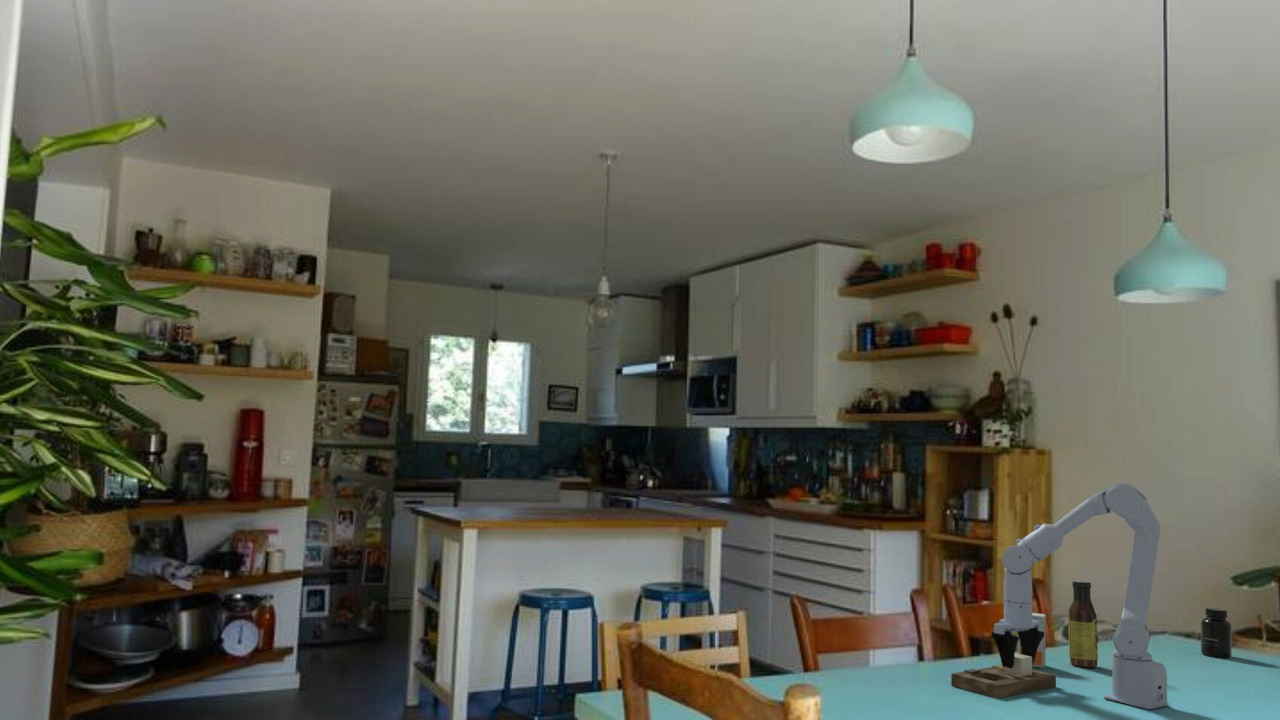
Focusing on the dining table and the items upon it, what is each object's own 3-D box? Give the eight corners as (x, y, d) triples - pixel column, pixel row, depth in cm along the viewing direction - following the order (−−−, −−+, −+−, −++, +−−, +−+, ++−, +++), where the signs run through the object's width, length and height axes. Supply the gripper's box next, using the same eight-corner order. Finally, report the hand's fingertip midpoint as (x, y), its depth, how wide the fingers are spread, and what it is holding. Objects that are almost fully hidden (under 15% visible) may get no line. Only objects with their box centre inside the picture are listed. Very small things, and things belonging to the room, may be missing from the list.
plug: (1032, 685, 200) (1032, 656, 201) (1021, 687, 198) (1021, 658, 199) (1015, 681, 204) (1015, 653, 204) (1004, 683, 201) (1004, 654, 202)
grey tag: (980, 672, 199) (980, 670, 199) (971, 673, 197) (971, 671, 197) (973, 670, 201) (973, 668, 201) (964, 672, 199) (964, 670, 199)
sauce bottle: (1102, 669, 220) (1102, 583, 222) (1076, 668, 220) (1075, 582, 222) (1090, 663, 226) (1089, 580, 228) (1064, 662, 226) (1063, 579, 228)
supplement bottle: (1205, 657, 241) (1204, 609, 242) (1198, 652, 247) (1197, 606, 248) (1235, 659, 239) (1234, 612, 240) (1227, 654, 245) (1226, 608, 246)
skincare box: (1016, 664, 221) (1016, 613, 222) (1018, 661, 224) (1018, 611, 226) (1044, 668, 218) (1044, 616, 219) (1045, 665, 222) (1046, 614, 223)
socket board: (1055, 686, 200) (1055, 674, 200) (997, 698, 188) (997, 685, 188) (1009, 675, 209) (1009, 664, 209) (951, 685, 197) (951, 673, 197)
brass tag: (1008, 667, 205) (1008, 666, 205) (999, 669, 203) (999, 667, 203) (1000, 666, 206) (1000, 664, 206) (992, 667, 205) (992, 665, 205)
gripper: (1020, 597, 210) (1020, 658, 209) (981, 600, 202) (981, 664, 201) (1049, 601, 204) (1050, 665, 203) (1010, 605, 196) (1010, 671, 195)
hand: (1017, 665), depth 201 cm, fingers open, 7 cm apart
